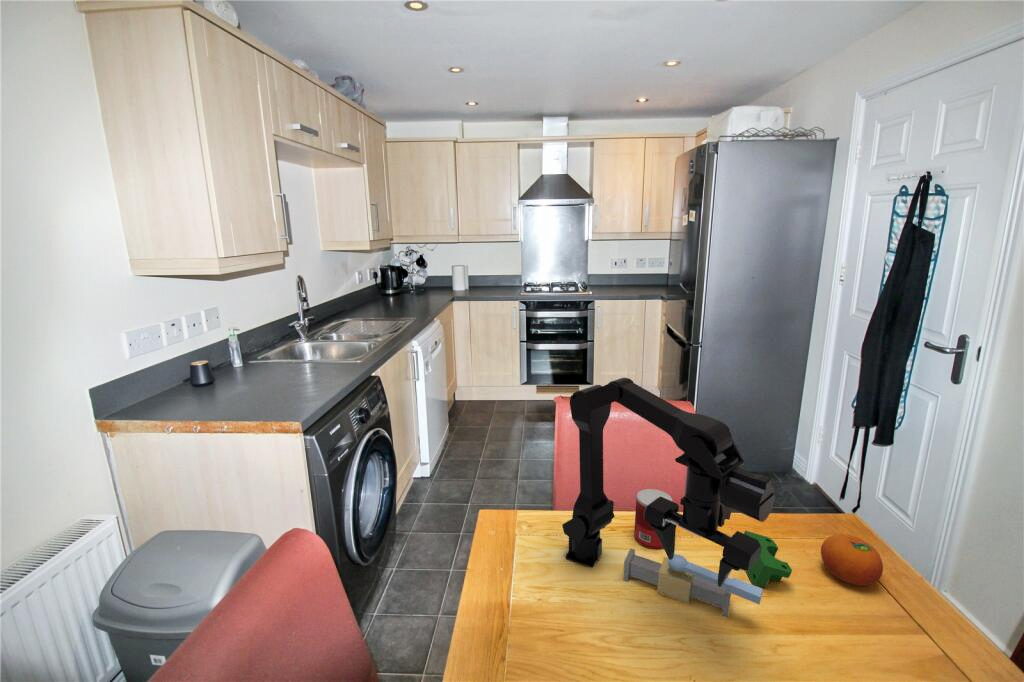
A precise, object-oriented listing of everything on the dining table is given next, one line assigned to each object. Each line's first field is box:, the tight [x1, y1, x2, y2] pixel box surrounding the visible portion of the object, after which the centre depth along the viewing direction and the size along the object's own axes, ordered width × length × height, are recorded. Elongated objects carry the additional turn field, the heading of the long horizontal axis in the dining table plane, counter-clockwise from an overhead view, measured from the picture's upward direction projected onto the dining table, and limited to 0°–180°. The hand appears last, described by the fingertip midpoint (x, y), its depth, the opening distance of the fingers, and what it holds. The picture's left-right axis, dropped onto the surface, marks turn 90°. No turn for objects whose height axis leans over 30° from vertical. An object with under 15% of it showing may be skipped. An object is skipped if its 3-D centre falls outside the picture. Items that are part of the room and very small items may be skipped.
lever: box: [668, 553, 764, 606], centre depth 90 cm, size 4×17×2 cm, turn 54°
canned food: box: [633, 488, 673, 550], centre depth 109 cm, size 8×8×11 cm
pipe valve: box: [622, 548, 732, 618], centre depth 94 cm, size 20×5×5 cm, turn 61°
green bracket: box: [743, 529, 793, 588], centre depth 100 cm, size 12×6×9 cm, turn 166°
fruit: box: [820, 533, 884, 586], centre depth 98 cm, size 11×10×8 cm
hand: (694, 571), depth 83 cm, fingers open, 9 cm apart
